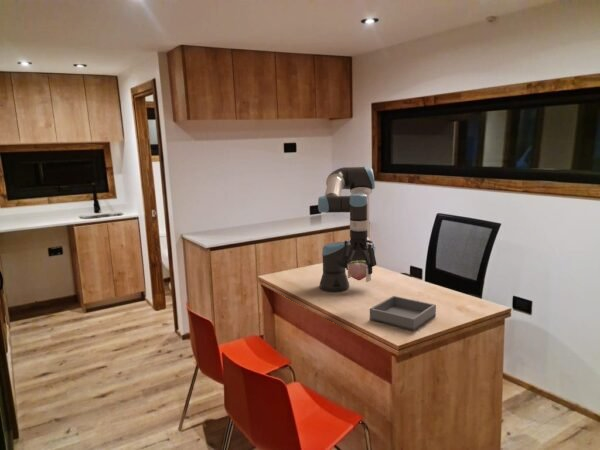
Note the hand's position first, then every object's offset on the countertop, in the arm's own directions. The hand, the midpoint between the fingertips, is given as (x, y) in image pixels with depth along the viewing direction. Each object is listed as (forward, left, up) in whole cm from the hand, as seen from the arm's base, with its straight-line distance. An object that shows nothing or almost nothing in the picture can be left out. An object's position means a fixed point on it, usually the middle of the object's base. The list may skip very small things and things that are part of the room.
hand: (359, 279), depth 202 cm
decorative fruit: (0, 0, -1) cm, 1 cm away
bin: (+21, +1, -14) cm, 25 cm away
